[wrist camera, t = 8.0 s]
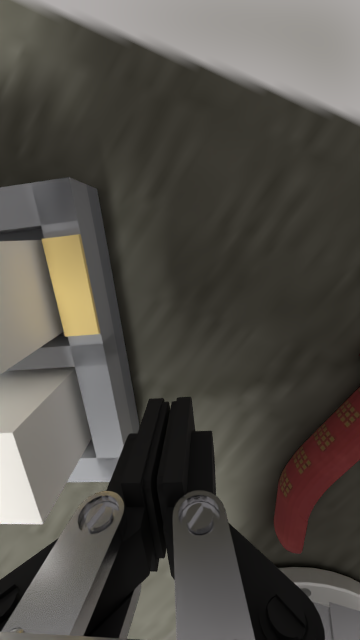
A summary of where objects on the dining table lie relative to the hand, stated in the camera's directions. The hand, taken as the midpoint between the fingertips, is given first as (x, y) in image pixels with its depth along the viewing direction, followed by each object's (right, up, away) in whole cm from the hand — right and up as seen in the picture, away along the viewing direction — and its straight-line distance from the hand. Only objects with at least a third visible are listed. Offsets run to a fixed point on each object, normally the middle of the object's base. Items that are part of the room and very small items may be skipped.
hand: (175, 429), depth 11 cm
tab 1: (-7, 0, +4) cm, 7 cm away
